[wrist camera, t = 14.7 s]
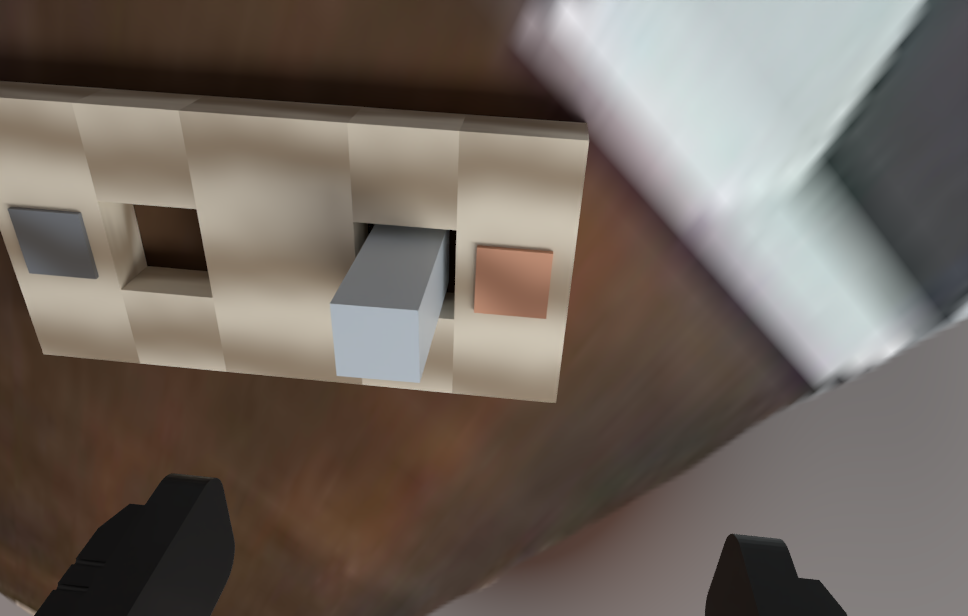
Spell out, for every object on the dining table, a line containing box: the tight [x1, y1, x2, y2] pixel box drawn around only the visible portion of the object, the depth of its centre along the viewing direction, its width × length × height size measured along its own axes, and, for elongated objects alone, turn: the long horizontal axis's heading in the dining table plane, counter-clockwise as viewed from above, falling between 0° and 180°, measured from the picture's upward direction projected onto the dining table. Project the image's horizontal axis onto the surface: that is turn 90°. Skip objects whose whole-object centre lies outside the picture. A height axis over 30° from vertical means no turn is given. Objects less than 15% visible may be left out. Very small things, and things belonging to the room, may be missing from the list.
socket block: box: [0, 81, 589, 403], centre depth 39 cm, size 16×32×3 cm, turn 88°
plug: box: [330, 224, 449, 383], centre depth 36 cm, size 4×4×10 cm
